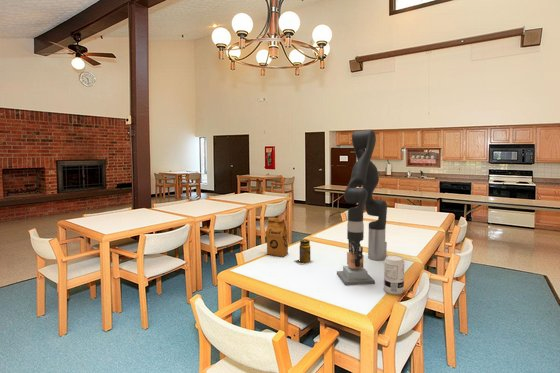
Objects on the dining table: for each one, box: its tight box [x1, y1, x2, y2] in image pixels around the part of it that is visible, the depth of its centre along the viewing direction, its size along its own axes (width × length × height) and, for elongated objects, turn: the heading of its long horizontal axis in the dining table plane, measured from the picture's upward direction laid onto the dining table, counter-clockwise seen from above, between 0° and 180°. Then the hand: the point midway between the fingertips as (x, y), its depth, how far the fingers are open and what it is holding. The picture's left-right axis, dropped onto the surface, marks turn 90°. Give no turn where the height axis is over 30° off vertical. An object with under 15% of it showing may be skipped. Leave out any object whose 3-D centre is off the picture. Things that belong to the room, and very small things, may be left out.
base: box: [336, 265, 376, 286], centre depth 161 cm, size 14×14×5 cm
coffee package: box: [265, 217, 289, 258], centre depth 199 cm, size 10×12×22 cm
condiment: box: [294, 238, 314, 266], centre depth 186 cm, size 7×8×12 cm
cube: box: [346, 251, 365, 268], centre depth 160 cm, size 6×6×6 cm
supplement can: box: [383, 254, 405, 296], centre depth 146 cm, size 8×8×15 cm
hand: (355, 264), depth 161 cm, fingers closed on cube, 6 cm apart
